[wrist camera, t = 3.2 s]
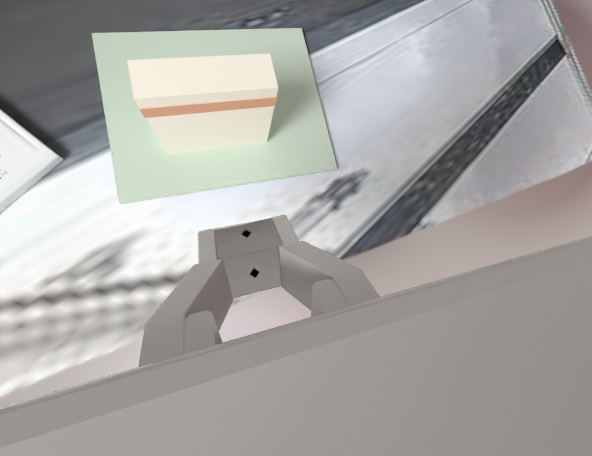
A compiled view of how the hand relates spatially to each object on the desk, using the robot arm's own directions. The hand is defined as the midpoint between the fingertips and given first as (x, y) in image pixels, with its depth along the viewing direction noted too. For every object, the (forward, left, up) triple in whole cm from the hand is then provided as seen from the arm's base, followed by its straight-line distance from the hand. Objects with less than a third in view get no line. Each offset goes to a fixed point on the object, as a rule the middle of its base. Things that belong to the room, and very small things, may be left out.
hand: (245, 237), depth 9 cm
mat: (+1, +15, -15) cm, 21 cm away
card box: (0, +12, -15) cm, 19 cm away
